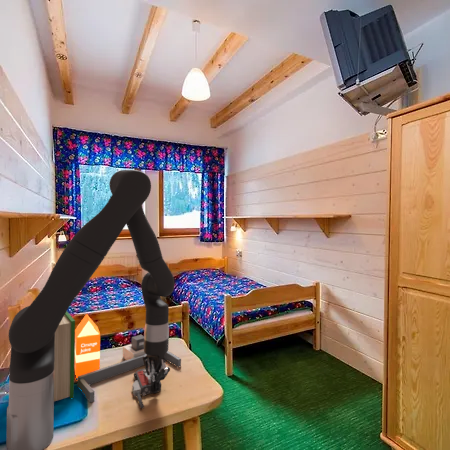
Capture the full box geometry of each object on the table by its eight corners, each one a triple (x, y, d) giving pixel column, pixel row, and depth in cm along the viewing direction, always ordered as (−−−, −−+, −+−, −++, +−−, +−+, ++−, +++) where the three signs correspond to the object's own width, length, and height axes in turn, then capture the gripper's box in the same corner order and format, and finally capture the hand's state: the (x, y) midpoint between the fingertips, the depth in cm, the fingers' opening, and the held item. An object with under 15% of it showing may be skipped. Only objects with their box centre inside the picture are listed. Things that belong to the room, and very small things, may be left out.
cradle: (90, 402, 89) (90, 389, 89) (77, 386, 97) (77, 374, 97) (180, 366, 112) (181, 355, 112) (164, 356, 120) (164, 346, 120)
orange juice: (97, 364, 112) (98, 311, 112) (99, 375, 105) (100, 319, 104) (73, 368, 108) (74, 314, 108) (75, 380, 101) (76, 322, 100)
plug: (136, 361, 115) (136, 340, 115) (131, 357, 118) (131, 337, 118) (145, 357, 118) (146, 337, 118) (140, 354, 121) (140, 334, 121)
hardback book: (73, 398, 91) (75, 320, 90) (45, 407, 86) (47, 325, 86) (61, 374, 105) (62, 306, 104) (37, 381, 100) (38, 310, 99)
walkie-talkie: (127, 379, 103) (138, 413, 86) (128, 366, 103) (138, 397, 86) (153, 373, 107) (168, 405, 90) (153, 361, 107) (168, 390, 89)
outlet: (133, 366, 112) (133, 354, 112) (122, 357, 118) (123, 346, 118) (154, 358, 118) (154, 347, 118) (143, 351, 124) (143, 340, 124)
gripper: (178, 339, 91) (177, 396, 91) (156, 327, 100) (154, 379, 100) (157, 346, 86) (155, 406, 86) (135, 333, 95) (134, 386, 95)
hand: (154, 391), depth 93 cm, fingers closed
